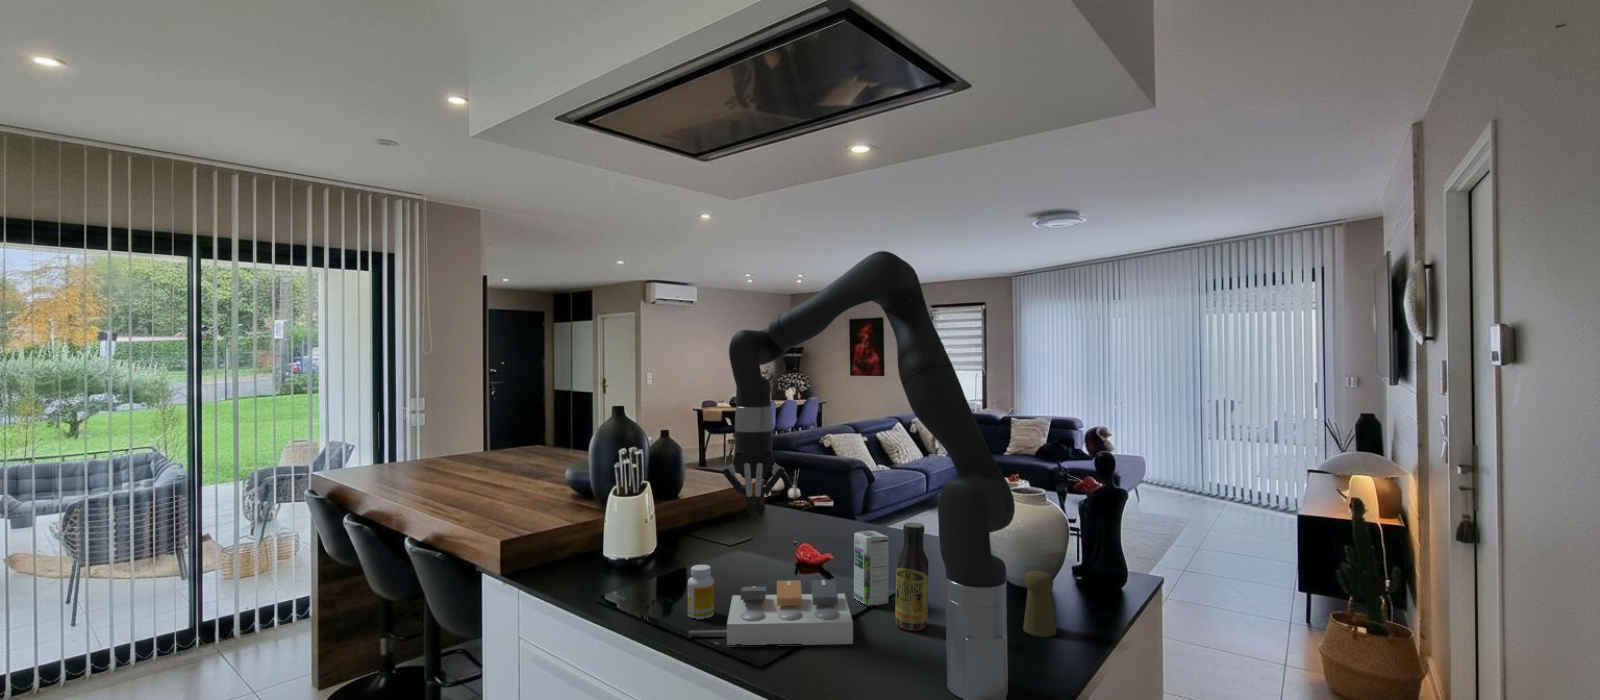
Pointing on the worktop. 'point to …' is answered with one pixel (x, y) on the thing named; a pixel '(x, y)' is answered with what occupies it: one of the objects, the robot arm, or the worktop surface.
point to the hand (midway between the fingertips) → (753, 514)
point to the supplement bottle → (700, 592)
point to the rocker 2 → (789, 593)
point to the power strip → (786, 623)
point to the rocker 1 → (753, 594)
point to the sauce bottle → (912, 580)
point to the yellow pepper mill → (1039, 605)
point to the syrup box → (871, 568)
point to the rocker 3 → (824, 592)
